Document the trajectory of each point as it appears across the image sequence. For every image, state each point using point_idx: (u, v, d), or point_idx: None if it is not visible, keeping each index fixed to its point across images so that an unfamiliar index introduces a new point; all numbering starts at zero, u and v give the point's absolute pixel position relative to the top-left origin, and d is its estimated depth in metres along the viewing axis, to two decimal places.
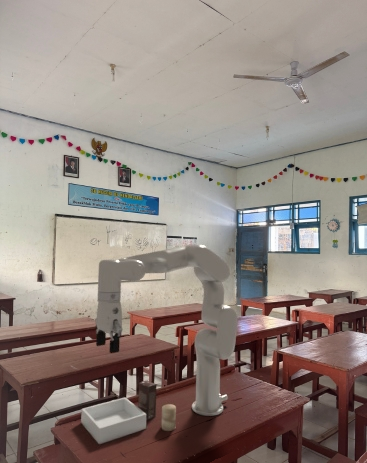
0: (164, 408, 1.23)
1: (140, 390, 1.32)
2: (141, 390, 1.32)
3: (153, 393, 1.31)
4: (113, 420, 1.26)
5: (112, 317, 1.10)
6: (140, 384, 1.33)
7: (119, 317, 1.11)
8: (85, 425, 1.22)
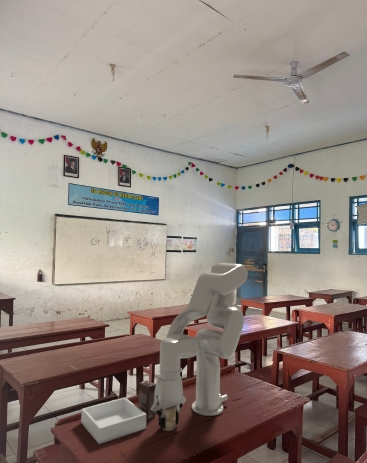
0: None
1: (140, 390, 1.32)
2: (141, 390, 1.32)
3: (153, 393, 1.31)
4: (113, 420, 1.26)
5: None
6: (140, 384, 1.33)
7: None
8: (85, 425, 1.22)
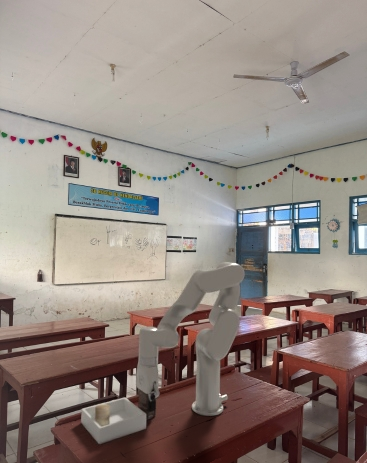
0: (103, 409, 1.20)
1: (140, 390, 1.32)
2: None
3: None
4: (113, 420, 1.26)
5: None
6: None
7: None
8: (85, 425, 1.22)
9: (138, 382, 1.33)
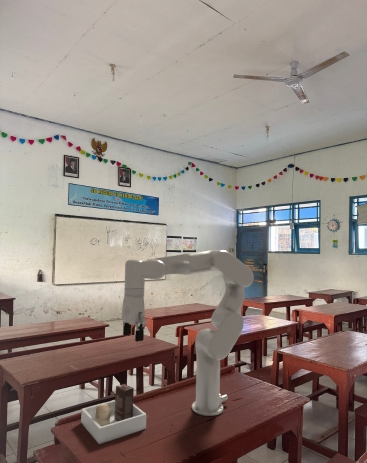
0: (103, 409, 1.20)
1: (117, 394, 1.27)
2: (117, 394, 1.26)
3: (130, 397, 1.25)
4: (113, 420, 1.26)
5: None
6: (117, 388, 1.27)
7: None
8: (85, 425, 1.22)
9: (124, 315, 1.30)
